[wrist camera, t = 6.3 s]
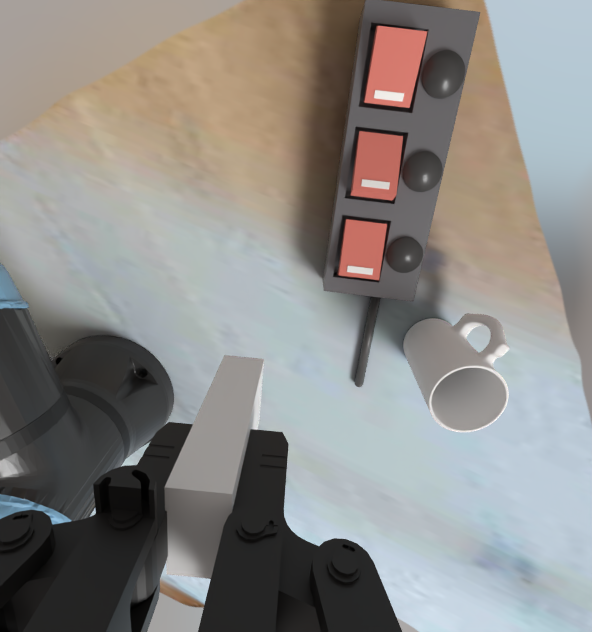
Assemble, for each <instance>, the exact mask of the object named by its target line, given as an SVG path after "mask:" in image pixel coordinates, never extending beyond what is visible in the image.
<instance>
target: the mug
mask: <svg viewBox="0 0 592 632" xmlns="http://www.w3.org/2000/svg"><path fill="white" fill-rule="evenodd" d="M480 325H484V326H487V327H488V328H489V329H490V332H491V338H490V342H489V344H488V345H487V347H486V348H485V349H484V350H483V351H481V352H480V353H478V352H477V351H476V350H475V349H474V348H473V347H472V346H471V345H470V344H469V342H468V341H467V339H466V337H467V335H468V333H469V332H470V331H471V330H472V329H473V328H475V327H477V326H480ZM403 349H404V353H405V355H406V358H407V361H408V363H409V365H410V367H411V370H412V372H413V374H414V376H415V379H416V381H417V383H418V386H419V388H420V390H421V393H422V395H423V397H424V399H425V402H426V404H427V406H428V408H429V410H430V413H431V415H432V417H433V418H434V420H435V421H436V422H437V423H438V424H439V425H440V426H442V427H443V428H445V429H448V430H451V431H455V432H472V431H476V430H479V429H482V428H484V427H486V426H488V425H490V424H491V423H493V422H494V421H495V420H496V419H497V418H498V417H499V416H500V415H501V414H502V413H503V411H504V409H505V407H506V405H507V402H508V396H509V392H508V387H507V384H506V382H505V380H504V378H503V377H502V376H501V375H500V374H499V373H498V372H497V371H496V370H495V369H494V367H493V363H494V361H495V359H496V358H498V357H501V356H503V355H504V354H505V353H506V352H507V351H508V350H509V346H508V345H507V342H506V337H505V332H504V329H503V327H502V325H501V323H500V322H499V321H498V320H497V319H495V318H493V317H491V316H488V315H482V314H465V315H464V316H463V317H462V318H461V319H460V321H459V322H458V323H457V324H456V325H454V326H452V325H451V324H449V323H448V322H446V321H444V320H441V319H436V318H430V319H425V320H422V321H419V322H418V323H416V324H414V325H413V326H412V327H411V328H410V329H409V330H408V332H407V333H406V335H405V338H404V342H403Z"/></svg>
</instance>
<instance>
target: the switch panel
mask: <svg viewBox="0 0 592 632" xmlns="http://www.w3.org/2000/svg"><path fill="white" fill-rule="evenodd" d="M479 16H480V12H475V11H467V10H459V9H451V8H442V7H434V6H426V5H417V4H409V3H401V2H392V1H384V0H365V3H364V6H363V10H362V13H361V16H360V21H359V28H358V35H357V42H356V49H355V56H354V63H353V70H352V77H351V85H350V92H349V99H348V106H347V113H346V120H345V127H344V134H343V141H342V148H341V155H340V162H339V169H338V176H337V183H336V190H335V197H334V204H333V211H332V218H331V226H330V233H329V240H328V247H327V254H326V261H325V268H324V275H323V287H324V291H330V292H339V293H347V294H355V295H363V296H371V300H370V305H369V310H368V316H367V321H366V326H365V331H364V337H363V342H362V347H361V352H360V358H359V363H358V368H357V373H356V379H355V385H356V386H357V387H361V386H362V385H363V382H364V377H365V372H366V367H367V362H368V357H369V352H370V347H371V342H372V337H373V332H374V327H375V322H376V317H377V312H378V307H379V302H380V298H388V299H396V300H405V301H414V296H415V292H416V288H417V283H418V279H419V275H420V270H421V266H422V262H423V257H424V253H425V249H426V244H427V240H428V236H429V232H430V227H431V223H432V219H433V214H434V210H435V206H436V201H437V197H438V193H439V188H440V184H441V180H442V175H443V171H444V167H445V163H446V158H447V154H448V150H449V145H450V141H451V137H452V132H453V128H454V124H455V119H456V115H457V111H458V106H459V102H460V98H461V93H462V89H463V85H464V81H465V76H466V72H467V68H468V63H469V59H470V55H471V50H472V46H473V42H474V37H475V33H476V29H477V24H478V20H479ZM376 26H385V27H394V28H402V29H410V30H418V31H427V36H426V40H425V44H424V48H423V53H422V57H421V61H420V65H419V70H418V74H417V78H416V82H415V87H414V91H413V95H412V99H411V104H410V108H405V107H397V106H389V105H380V104H372V103H364V101H363V99H364V93H365V88H366V82H367V76H368V70H369V65H370V59H371V53H372V47H373V42H374V36H375V30H376ZM359 131H363V132H372V133H380V134H388V135H397V136H403V142H402V150H401V159H400V168H399V177H398V186H397V195H396V196H395V198H394V199H393V200H384V199H376V198H368V197H359V196H351V195H350V194H351V186H352V177H353V169H354V160H355V152H356V143H357V137H358V134H359ZM346 219H349V220H357V221H365V222H373V223H382V224H387V229H386V235H385V242H384V249H383V256H382V263H381V270H380V277H379V280H373V279H365V278H357V277H348V276H340V275H338V268H339V260H340V253H341V245H342V238H343V230H344V223H345V220H346Z"/></svg>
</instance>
